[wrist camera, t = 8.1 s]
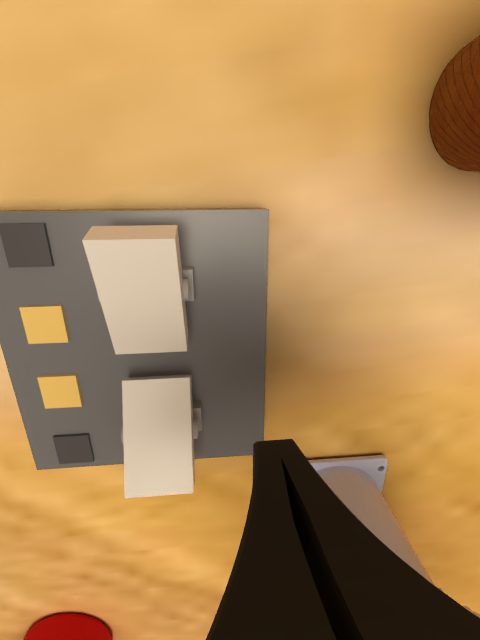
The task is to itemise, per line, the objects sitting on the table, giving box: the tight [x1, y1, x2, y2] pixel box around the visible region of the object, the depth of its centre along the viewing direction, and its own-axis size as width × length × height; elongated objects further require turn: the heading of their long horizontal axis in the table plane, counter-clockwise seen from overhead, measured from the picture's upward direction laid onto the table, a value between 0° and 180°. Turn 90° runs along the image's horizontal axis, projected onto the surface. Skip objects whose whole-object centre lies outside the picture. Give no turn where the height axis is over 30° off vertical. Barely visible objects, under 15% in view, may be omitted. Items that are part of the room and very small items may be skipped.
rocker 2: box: [121, 374, 198, 498], centre depth 18 cm, size 6×4×2 cm, turn 1°
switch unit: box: [0, 208, 269, 470], centre depth 19 cm, size 15×14×3 cm
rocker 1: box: [82, 225, 189, 354], centre depth 15 cm, size 6×4×2 cm, turn 0°
